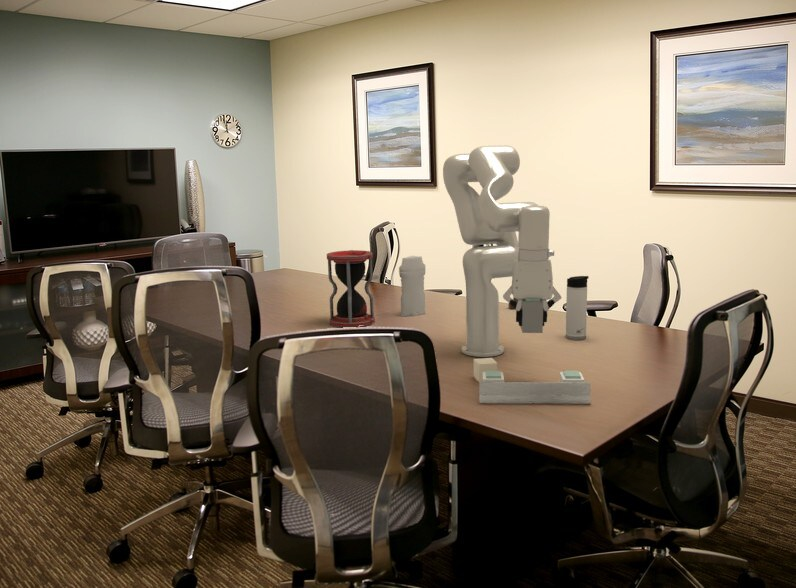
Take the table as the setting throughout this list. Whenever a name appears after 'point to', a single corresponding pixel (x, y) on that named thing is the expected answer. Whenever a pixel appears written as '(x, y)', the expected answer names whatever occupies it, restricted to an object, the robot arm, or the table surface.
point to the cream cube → (483, 367)
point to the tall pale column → (412, 286)
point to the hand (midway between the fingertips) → (531, 324)
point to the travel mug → (576, 307)
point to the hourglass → (350, 288)
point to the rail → (535, 392)
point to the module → (532, 316)
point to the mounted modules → (564, 376)
